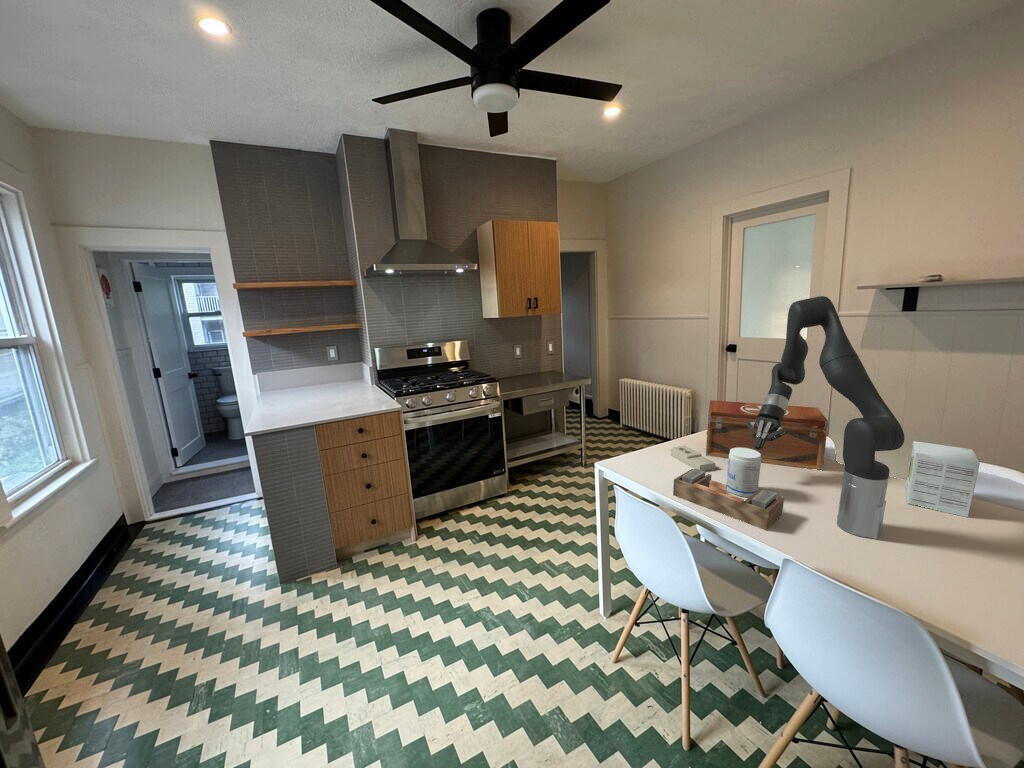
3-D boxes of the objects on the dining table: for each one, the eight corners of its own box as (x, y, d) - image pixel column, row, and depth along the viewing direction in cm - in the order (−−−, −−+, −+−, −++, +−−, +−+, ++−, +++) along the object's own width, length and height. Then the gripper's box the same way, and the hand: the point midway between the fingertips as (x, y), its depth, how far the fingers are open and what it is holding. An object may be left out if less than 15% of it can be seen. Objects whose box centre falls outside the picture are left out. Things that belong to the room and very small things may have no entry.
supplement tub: (720, 486, 140) (722, 448, 137) (744, 484, 141) (748, 445, 138) (738, 499, 130) (741, 458, 127) (764, 496, 131) (768, 456, 128)
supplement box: (904, 488, 132) (912, 440, 129) (962, 500, 123) (973, 448, 120) (905, 504, 123) (915, 452, 119) (969, 518, 114) (981, 462, 110)
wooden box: (823, 471, 147) (829, 421, 143) (704, 456, 167) (707, 411, 163) (813, 452, 165) (818, 407, 161) (707, 440, 184) (709, 400, 180)
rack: (782, 514, 120) (785, 485, 118) (766, 530, 113) (769, 499, 111) (691, 483, 143) (692, 459, 141) (673, 495, 135) (674, 469, 133)
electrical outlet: (700, 463, 151) (670, 447, 168) (699, 472, 152) (670, 456, 169) (715, 460, 153) (684, 445, 170) (714, 470, 154) (684, 453, 171)
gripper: (751, 400, 147) (735, 438, 142) (792, 406, 137) (776, 448, 132) (756, 410, 151) (740, 448, 147) (796, 417, 141) (780, 458, 136)
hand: (757, 448), depth 139 cm, fingers closed
